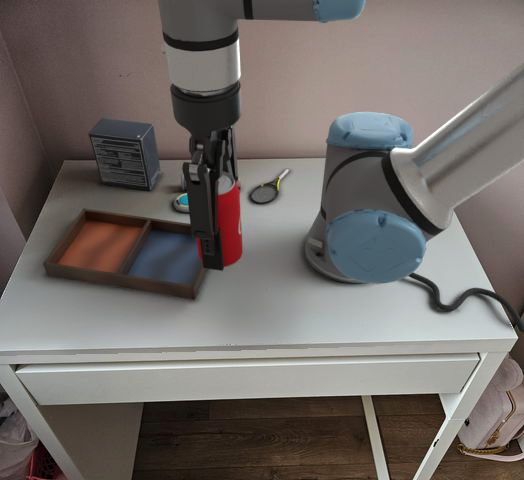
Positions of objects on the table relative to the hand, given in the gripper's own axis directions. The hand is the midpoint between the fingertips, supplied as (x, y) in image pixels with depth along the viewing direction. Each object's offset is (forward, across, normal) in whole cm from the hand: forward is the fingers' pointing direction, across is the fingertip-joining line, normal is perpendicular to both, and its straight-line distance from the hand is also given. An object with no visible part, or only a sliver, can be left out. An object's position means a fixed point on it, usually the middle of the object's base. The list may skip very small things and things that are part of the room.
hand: (220, 251), depth 73 cm
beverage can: (+1, 0, 0) cm, 1 cm away
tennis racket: (+10, -34, -2) cm, 35 cm away
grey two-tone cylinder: (+8, -31, -11) cm, 34 cm away
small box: (+11, -29, -27) cm, 41 cm away
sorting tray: (+10, -7, -18) cm, 22 cm away
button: (+10, -24, -14) cm, 29 cm away
